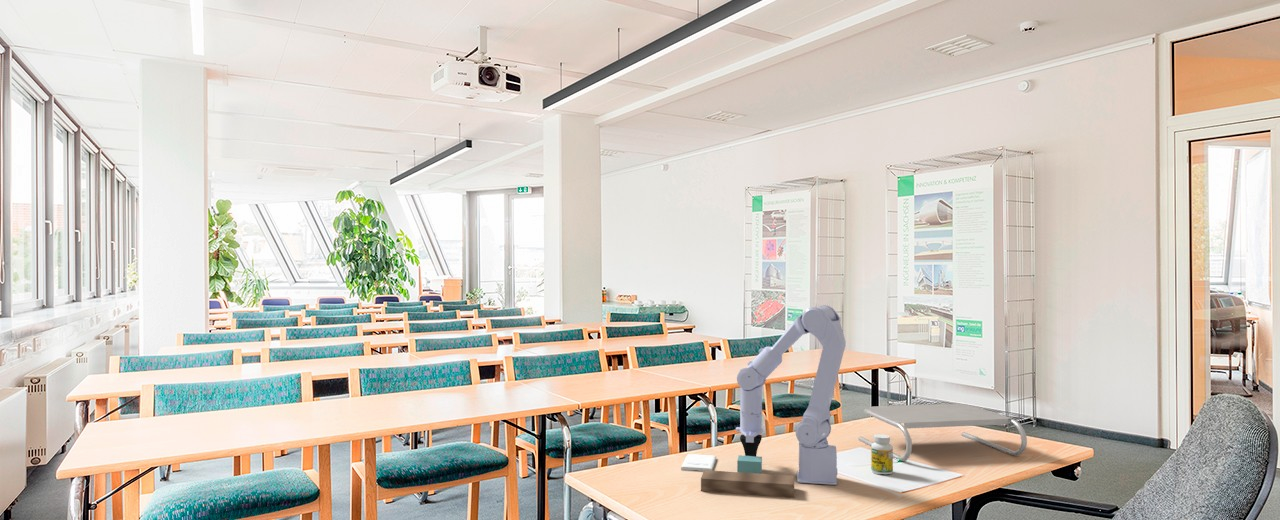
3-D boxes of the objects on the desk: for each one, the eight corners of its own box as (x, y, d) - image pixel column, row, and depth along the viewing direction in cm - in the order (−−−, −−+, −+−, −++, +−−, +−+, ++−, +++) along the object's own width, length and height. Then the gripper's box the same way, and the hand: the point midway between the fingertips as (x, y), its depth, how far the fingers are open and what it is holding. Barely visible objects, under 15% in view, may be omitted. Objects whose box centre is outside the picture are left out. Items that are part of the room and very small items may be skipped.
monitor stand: (964, 436, 226) (965, 402, 226) (1028, 461, 199) (1028, 422, 199) (857, 441, 219) (858, 406, 219) (907, 467, 192) (908, 427, 192)
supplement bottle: (896, 472, 186) (896, 436, 186) (886, 477, 182) (887, 439, 182) (877, 468, 190) (877, 432, 190) (867, 472, 186) (867, 435, 186)
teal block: (761, 473, 185) (761, 456, 184) (761, 479, 180) (761, 462, 180) (738, 472, 186) (738, 455, 186) (737, 478, 181) (737, 460, 181)
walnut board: (793, 488, 173) (793, 475, 173) (794, 497, 166) (794, 484, 166) (703, 482, 177) (704, 470, 177) (700, 490, 170) (700, 478, 170)
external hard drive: (716, 461, 198) (711, 474, 185) (687, 459, 199) (680, 472, 187) (716, 455, 198) (711, 468, 185) (687, 453, 199) (680, 466, 187)
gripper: (737, 406, 197) (737, 454, 197) (734, 417, 183) (733, 469, 183) (763, 407, 196) (763, 456, 196) (761, 418, 181) (761, 471, 181)
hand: (750, 462), depth 189 cm, fingers closed
